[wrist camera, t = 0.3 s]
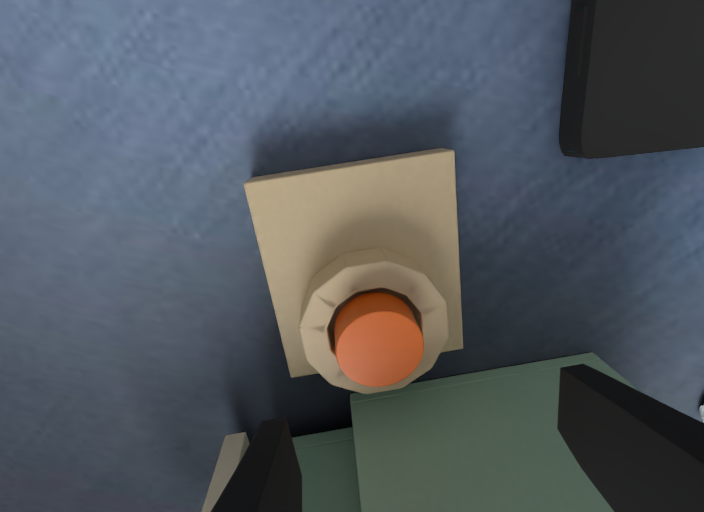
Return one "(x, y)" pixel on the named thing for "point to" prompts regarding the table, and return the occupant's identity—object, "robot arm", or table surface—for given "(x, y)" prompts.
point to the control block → (360, 252)
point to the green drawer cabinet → (472, 444)
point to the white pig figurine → (702, 412)
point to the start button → (377, 340)
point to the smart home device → (633, 78)
